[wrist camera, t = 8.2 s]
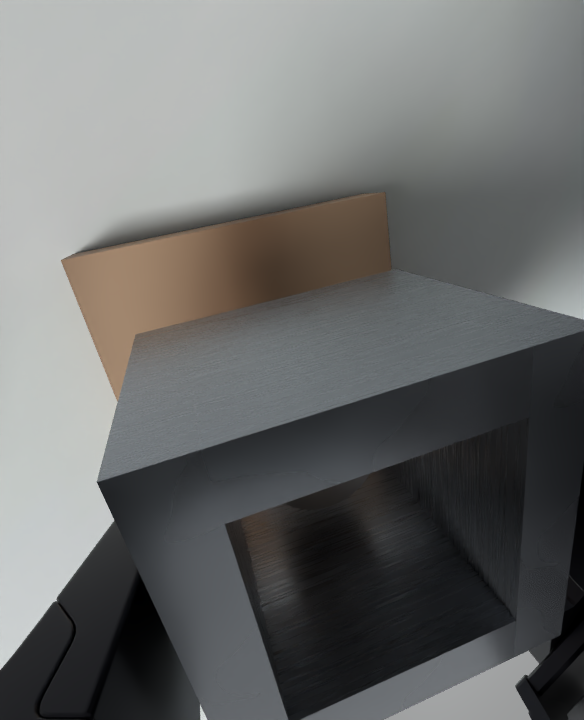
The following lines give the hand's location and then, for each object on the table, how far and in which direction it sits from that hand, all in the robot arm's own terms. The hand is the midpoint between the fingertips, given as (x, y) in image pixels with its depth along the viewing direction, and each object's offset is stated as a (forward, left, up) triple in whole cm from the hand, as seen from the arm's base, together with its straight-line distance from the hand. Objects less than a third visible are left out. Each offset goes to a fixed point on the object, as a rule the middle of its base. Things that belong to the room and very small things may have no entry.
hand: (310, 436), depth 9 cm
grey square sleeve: (0, 0, -1) cm, 1 cm away
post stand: (0, 0, -6) cm, 6 cm away
